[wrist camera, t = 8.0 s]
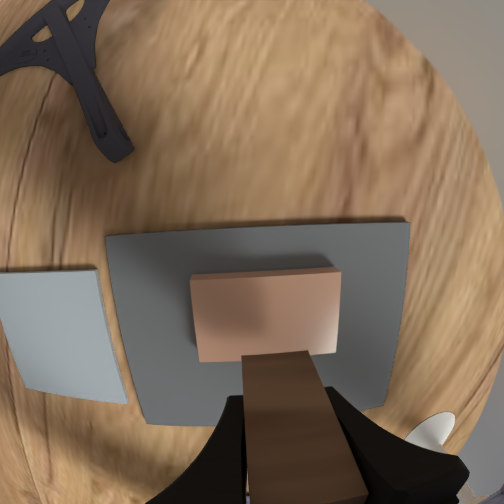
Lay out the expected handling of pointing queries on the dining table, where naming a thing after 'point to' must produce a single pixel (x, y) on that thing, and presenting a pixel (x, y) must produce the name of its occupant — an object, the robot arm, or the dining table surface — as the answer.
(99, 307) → the rest pad
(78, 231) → the dining table surface
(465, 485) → the champagne flute
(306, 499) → the walnut stick
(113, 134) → the bracket
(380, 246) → the slate mat
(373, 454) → the robot arm
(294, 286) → the tile
